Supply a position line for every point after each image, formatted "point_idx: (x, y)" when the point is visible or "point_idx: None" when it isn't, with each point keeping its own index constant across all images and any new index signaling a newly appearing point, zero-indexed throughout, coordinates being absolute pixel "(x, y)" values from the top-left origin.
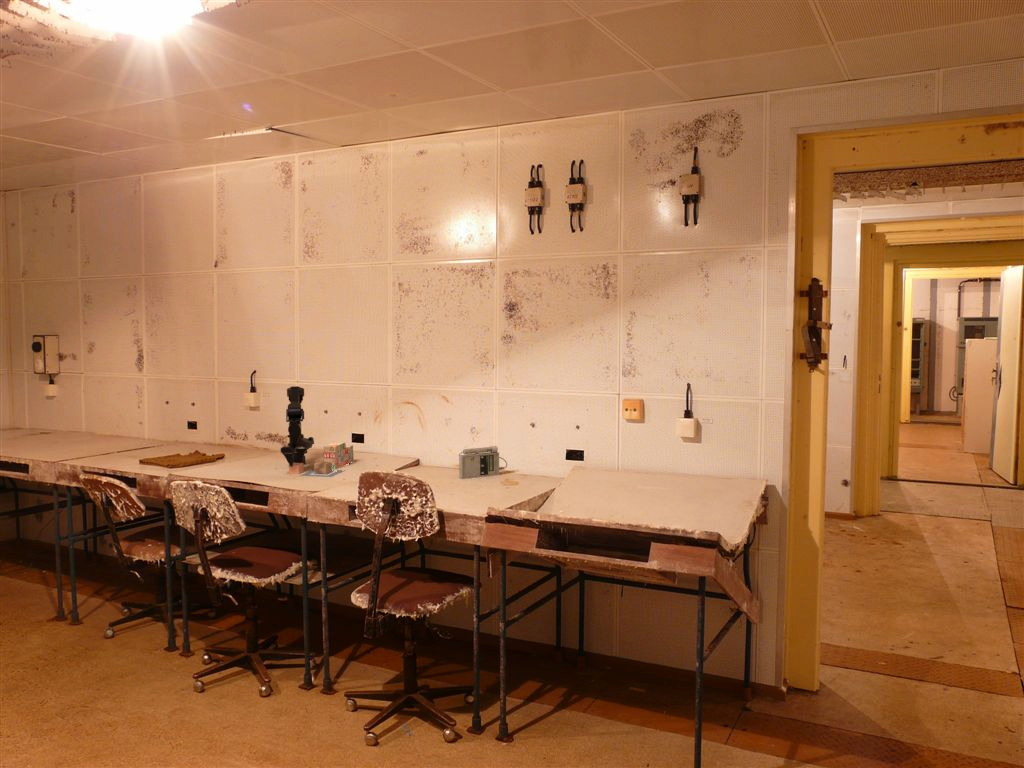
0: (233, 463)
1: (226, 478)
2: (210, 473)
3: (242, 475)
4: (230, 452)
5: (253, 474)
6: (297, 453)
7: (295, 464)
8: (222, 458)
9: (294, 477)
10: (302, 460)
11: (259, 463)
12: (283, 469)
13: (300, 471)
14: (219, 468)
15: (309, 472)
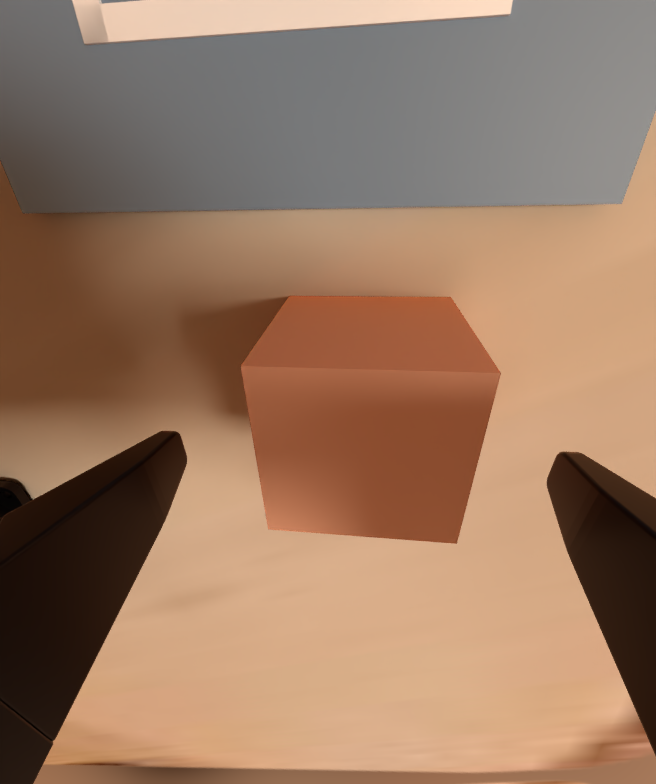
0: (176, 740)
1: (580, 720)
2: (424, 764)
3: (475, 685)
4: None
5: (434, 653)
6: (63, 698)
7: (418, 459)
8: (117, 764)
9: (638, 280)
10: (128, 454)
11: (111, 684)
12: (190, 555)
13: (390, 312)
14: (299, 756)
15: (299, 168)
